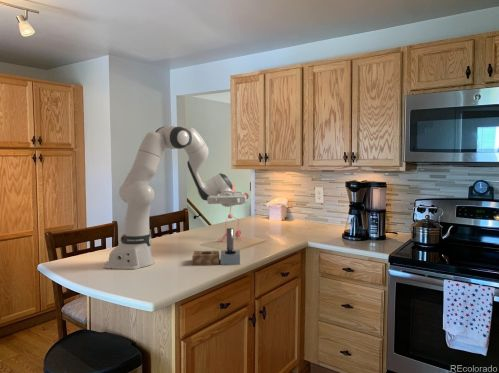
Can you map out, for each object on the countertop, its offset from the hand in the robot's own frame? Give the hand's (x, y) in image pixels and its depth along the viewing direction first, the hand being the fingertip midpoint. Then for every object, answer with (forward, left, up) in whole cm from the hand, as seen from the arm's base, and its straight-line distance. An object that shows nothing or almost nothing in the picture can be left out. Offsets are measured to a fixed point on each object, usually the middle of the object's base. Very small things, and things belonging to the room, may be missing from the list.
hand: (226, 201), depth 192 cm
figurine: (0, +39, -28) cm, 48 cm away
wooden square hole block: (-10, -11, -28) cm, 32 cm away
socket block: (+2, -11, -28) cm, 30 cm away
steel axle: (+2, -11, -28) cm, 30 cm away
